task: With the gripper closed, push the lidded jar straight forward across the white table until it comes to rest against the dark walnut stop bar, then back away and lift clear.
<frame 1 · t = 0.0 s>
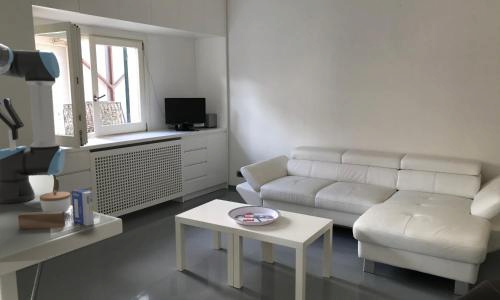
stop bar: (42, 227, 140), on the table
walkman: (83, 223, 144), on the table
lidded jar: (56, 214, 155), on the table
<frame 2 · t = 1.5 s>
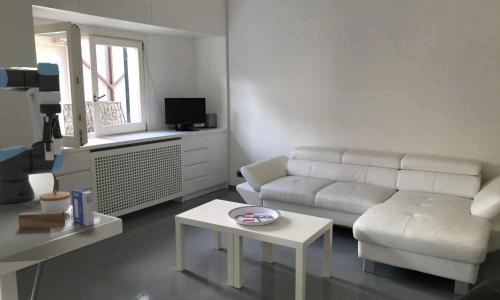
hand: (53, 157, 159), 21 cm above the table, tool pointing down, fingers open, 13 cm apart
nothing on the table moved.
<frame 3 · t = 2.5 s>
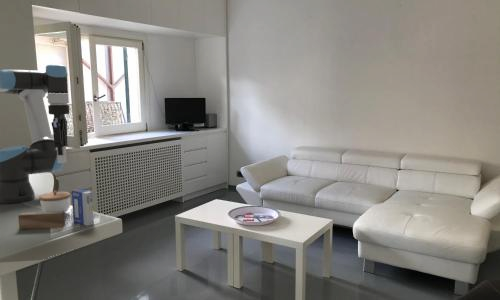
hand: (62, 162, 164), 18 cm above the table, tool pointing down, fingers closed
nothing on the table moved.
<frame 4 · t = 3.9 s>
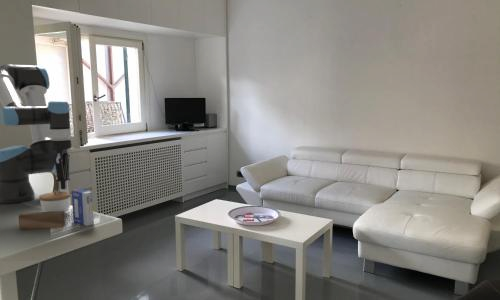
hand: (64, 196, 165), 4 cm above the table, tool pointing down, fingers closed
nothing on the table moved.
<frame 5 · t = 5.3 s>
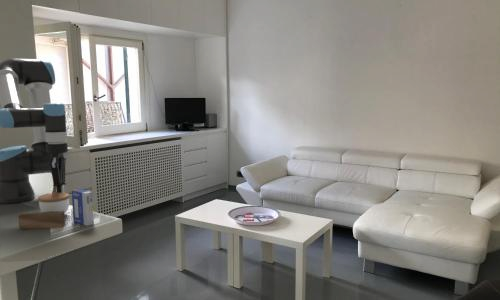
hand: (60, 201, 160), 4 cm above the table, tool pointing down, fingers closed
lidded jar: (55, 216, 153), on the table, touching gripper
everything else where it was.
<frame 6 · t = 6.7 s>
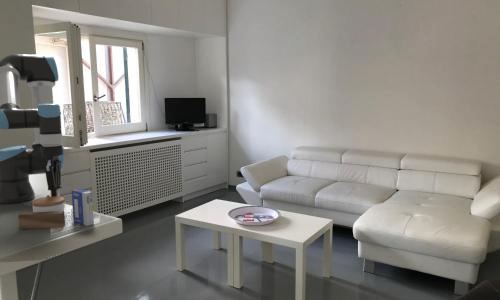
hand: (55, 205, 154), 3 cm above the table, tool pointing down, fingers closed
lidded jar: (49, 221, 147), on the table, touching gripper
everything else where it was.
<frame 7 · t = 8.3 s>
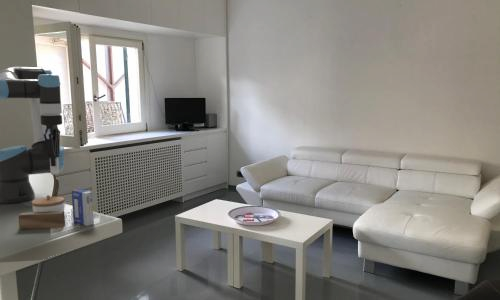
hand: (54, 173, 160), 15 cm above the table, tool pointing down, fingers closed
lidded jar: (49, 221, 147), on the table
everything else where it was.
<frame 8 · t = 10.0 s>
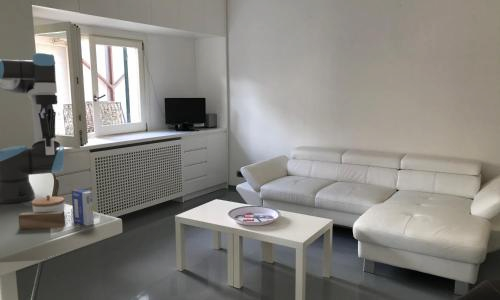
hand: (50, 154, 158), 22 cm above the table, tool pointing down, fingers closed
nothing on the table moved.
at the end: lidded jar 0.4 cm from the target spot on the table beside the stop bar, on the table; lidded jar tilted 0°; lidded jar moved 7.9 cm from its start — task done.
